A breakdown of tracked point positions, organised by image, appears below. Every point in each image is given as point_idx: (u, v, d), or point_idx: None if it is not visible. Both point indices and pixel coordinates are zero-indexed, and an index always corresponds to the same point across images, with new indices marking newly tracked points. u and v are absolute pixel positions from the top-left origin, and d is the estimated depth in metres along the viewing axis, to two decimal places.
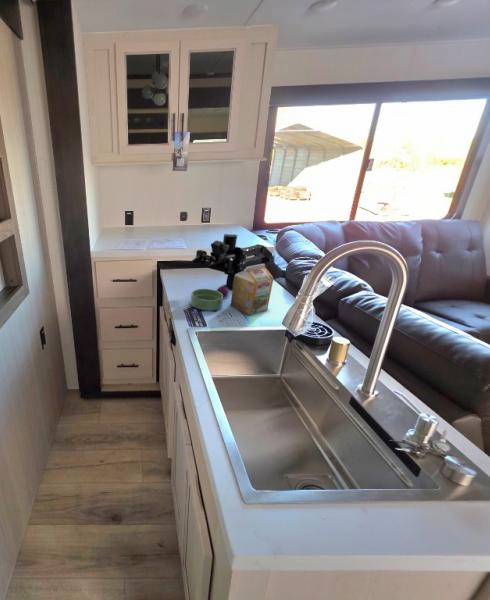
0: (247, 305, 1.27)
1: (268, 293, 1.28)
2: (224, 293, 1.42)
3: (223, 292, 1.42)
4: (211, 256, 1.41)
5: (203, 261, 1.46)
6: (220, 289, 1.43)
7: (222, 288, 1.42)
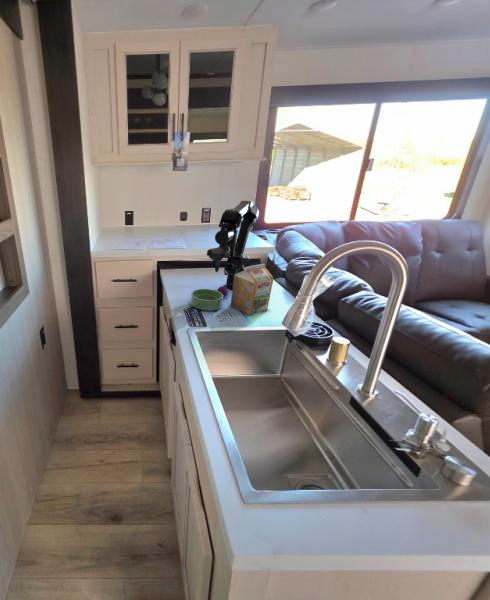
0: (247, 305, 1.27)
1: (268, 293, 1.28)
2: (224, 293, 1.42)
3: (223, 292, 1.42)
4: None
5: None
6: (220, 289, 1.43)
7: (222, 288, 1.42)
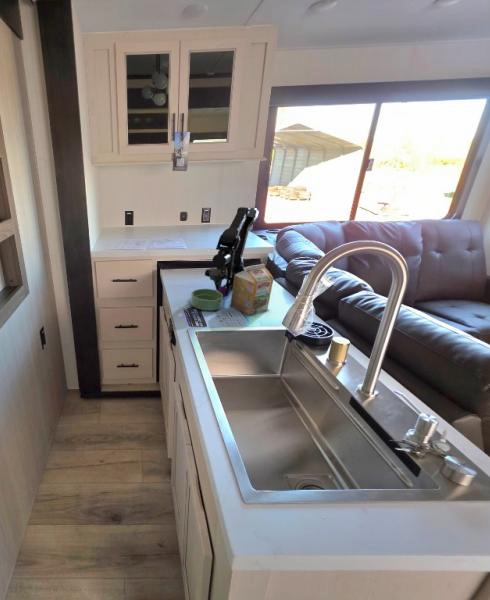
0: (247, 305, 1.27)
1: (268, 293, 1.28)
2: (224, 293, 1.42)
3: (223, 292, 1.42)
4: None
5: None
6: (220, 289, 1.43)
7: (222, 288, 1.42)
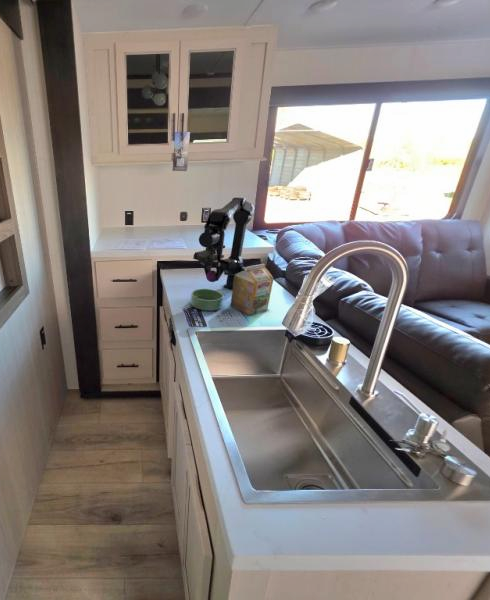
0: (247, 305, 1.27)
1: (268, 293, 1.28)
2: (214, 277, 1.31)
3: (213, 276, 1.31)
4: (213, 260, 1.29)
5: None
6: (209, 273, 1.32)
7: (212, 272, 1.31)
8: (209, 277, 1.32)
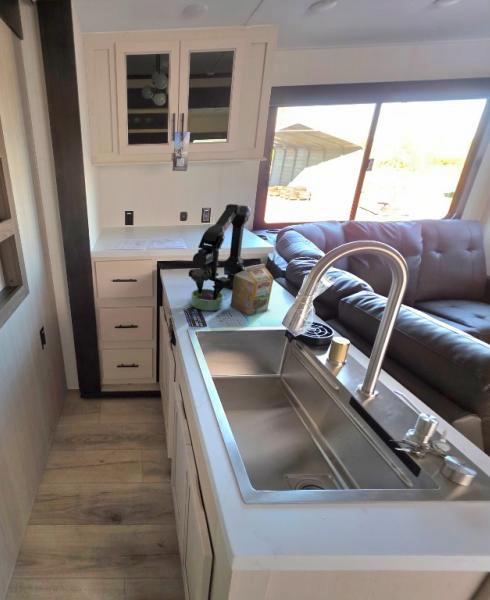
0: (247, 305, 1.27)
1: (268, 293, 1.28)
2: None
3: (207, 299, 1.33)
4: None
5: None
6: (204, 296, 1.34)
7: (206, 295, 1.34)
8: None
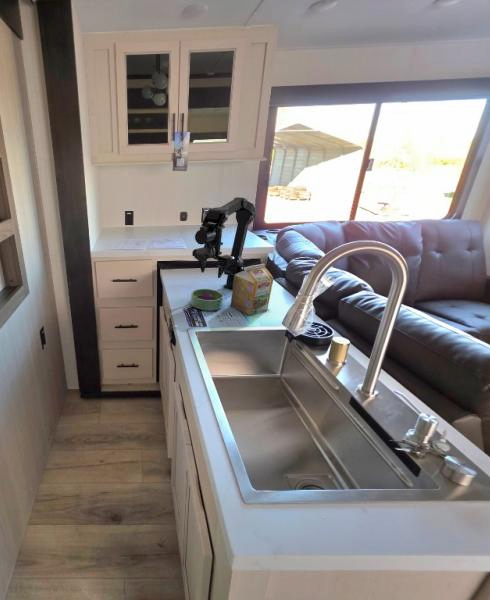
0: (247, 305, 1.27)
1: (268, 293, 1.28)
2: None
3: (207, 299, 1.33)
4: None
5: None
6: (204, 296, 1.34)
7: (206, 295, 1.34)
8: None
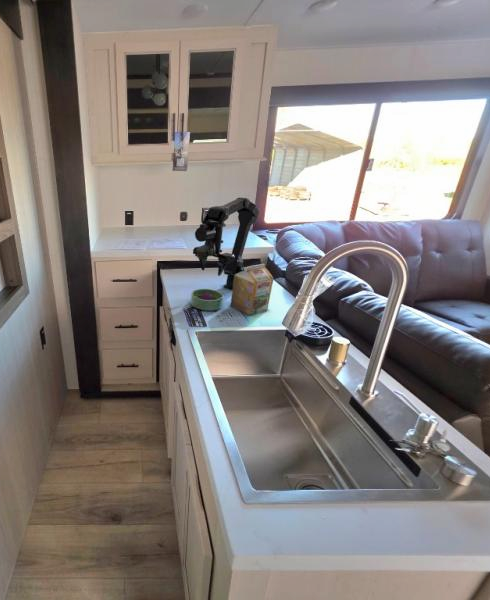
0: (247, 305, 1.27)
1: (268, 293, 1.28)
2: None
3: (207, 299, 1.33)
4: None
5: None
6: (203, 296, 1.34)
7: (206, 295, 1.34)
8: None
